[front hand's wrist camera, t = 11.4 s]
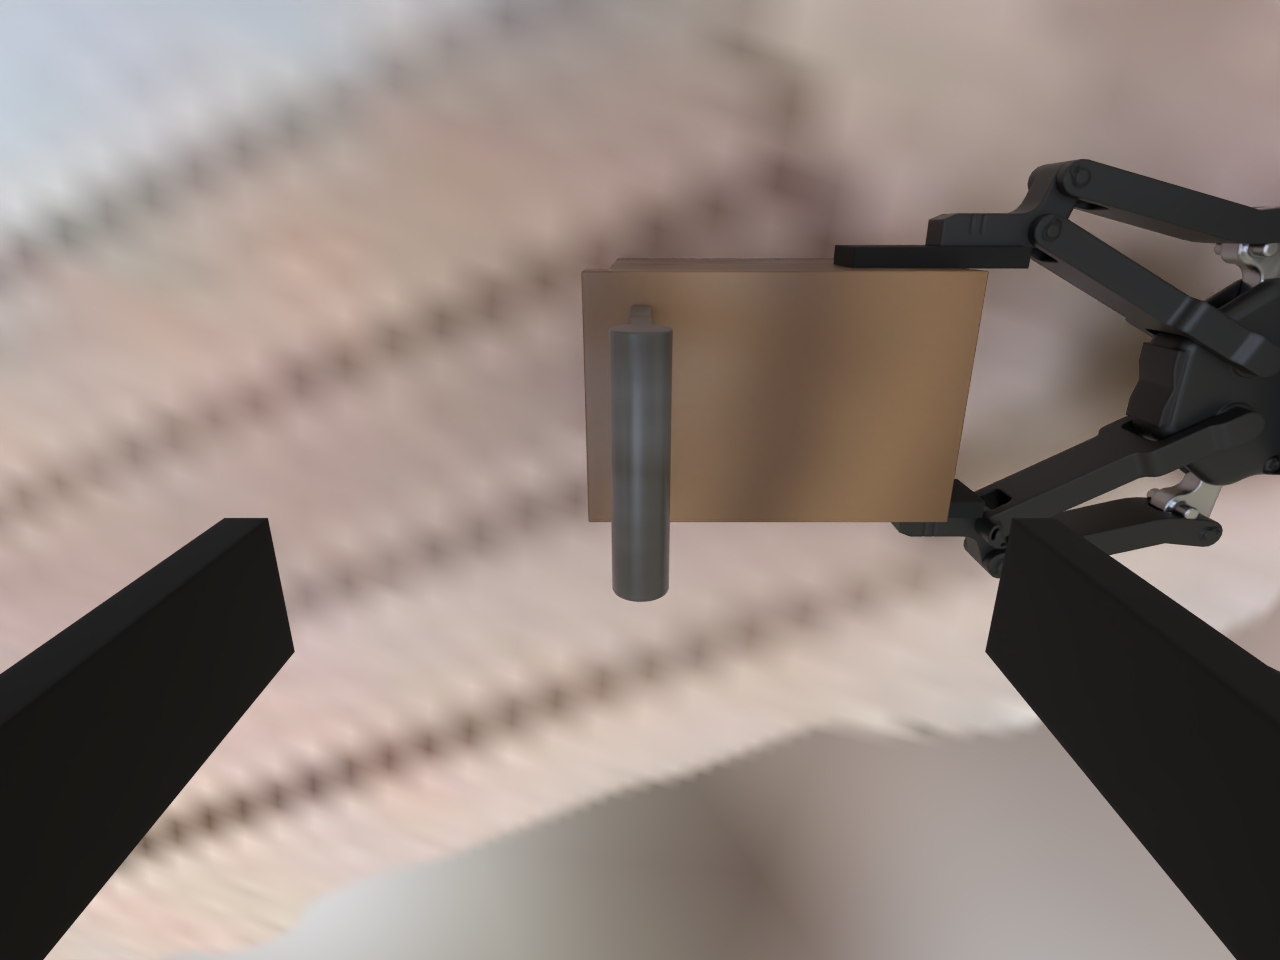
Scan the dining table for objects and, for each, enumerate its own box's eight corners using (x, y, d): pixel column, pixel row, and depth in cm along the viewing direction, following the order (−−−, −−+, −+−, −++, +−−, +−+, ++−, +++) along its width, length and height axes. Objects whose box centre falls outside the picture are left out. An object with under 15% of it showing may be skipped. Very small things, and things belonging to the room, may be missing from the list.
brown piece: (590, 510, 28) (568, 632, 19) (584, 269, 25) (554, 290, 16) (934, 510, 28) (1062, 632, 19) (973, 269, 25) (1144, 291, 16)
